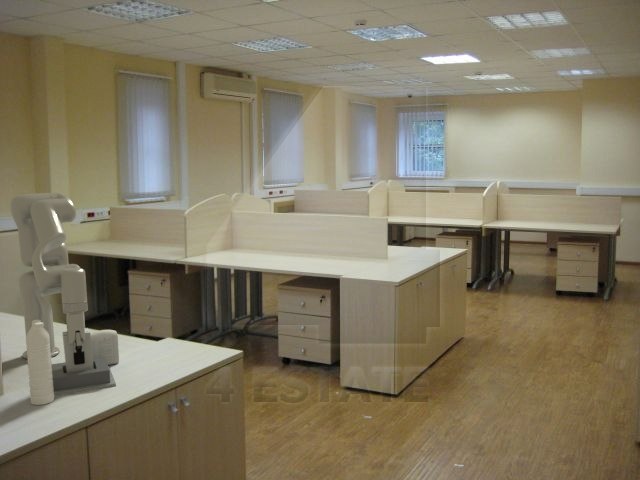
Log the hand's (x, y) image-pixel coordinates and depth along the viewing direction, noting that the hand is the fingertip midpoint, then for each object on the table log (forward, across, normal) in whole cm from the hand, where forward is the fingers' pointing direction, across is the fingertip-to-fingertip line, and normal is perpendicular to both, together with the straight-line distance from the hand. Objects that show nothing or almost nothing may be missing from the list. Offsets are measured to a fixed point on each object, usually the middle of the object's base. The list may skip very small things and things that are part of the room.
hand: (78, 360), depth 211 cm
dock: (+7, 0, 0) cm, 7 cm away
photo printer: (+7, -15, +9) cm, 19 cm away
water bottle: (+7, +14, -11) cm, 19 cm away
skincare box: (+5, 0, 0) cm, 5 cm away
